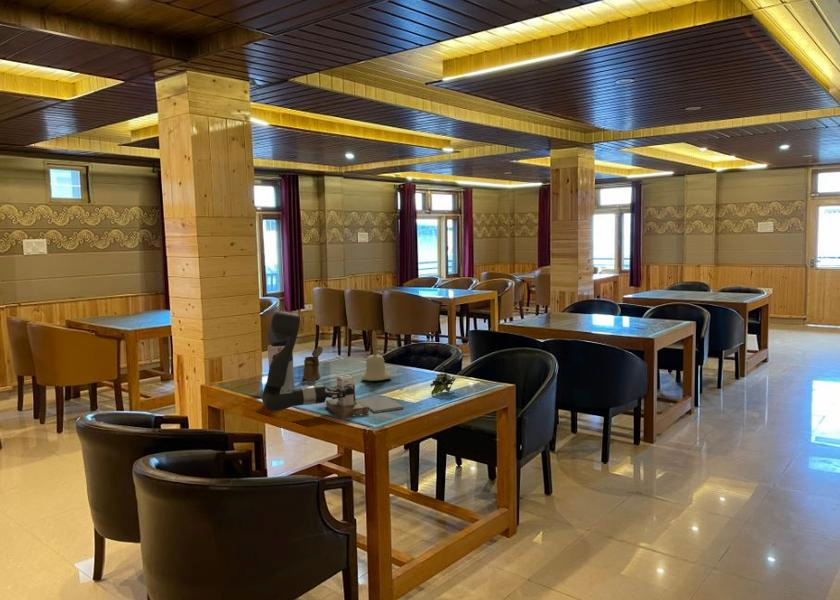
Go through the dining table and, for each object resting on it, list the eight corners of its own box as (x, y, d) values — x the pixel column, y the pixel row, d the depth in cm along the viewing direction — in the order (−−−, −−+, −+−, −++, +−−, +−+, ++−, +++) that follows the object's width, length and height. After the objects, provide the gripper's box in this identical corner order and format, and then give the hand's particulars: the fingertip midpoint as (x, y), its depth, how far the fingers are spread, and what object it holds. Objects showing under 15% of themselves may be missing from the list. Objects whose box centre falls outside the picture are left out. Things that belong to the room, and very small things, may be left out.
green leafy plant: (441, 403, 295) (450, 379, 299) (454, 403, 286) (464, 379, 290) (422, 392, 290) (432, 369, 295) (435, 392, 281) (445, 368, 285)
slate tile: (374, 413, 262) (374, 410, 262) (358, 402, 280) (358, 400, 280) (403, 408, 267) (403, 406, 267) (385, 398, 286) (385, 396, 285)
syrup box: (343, 413, 264) (342, 378, 262) (337, 409, 269) (336, 376, 267) (356, 410, 267) (354, 376, 265) (350, 407, 272) (348, 374, 270)
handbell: (372, 384, 313) (370, 334, 311) (355, 380, 325) (352, 331, 322) (397, 379, 323) (395, 330, 321) (379, 375, 335) (377, 328, 332)
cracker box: (278, 380, 330) (276, 341, 328) (289, 380, 329) (287, 340, 327) (269, 387, 316) (266, 345, 314) (281, 387, 316) (278, 345, 314)
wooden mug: (314, 382, 323) (312, 347, 321) (299, 379, 333) (297, 345, 331) (328, 379, 329) (326, 345, 327) (313, 376, 339) (312, 342, 337)
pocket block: (340, 418, 256) (340, 410, 256) (326, 407, 274) (326, 400, 274) (368, 413, 261) (368, 406, 261) (353, 403, 279) (352, 396, 279)
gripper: (316, 389, 254) (356, 384, 261) (307, 382, 267) (345, 377, 274) (317, 407, 255) (357, 402, 262) (308, 400, 268) (346, 394, 275)
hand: (351, 389), depth 268 cm, fingers closed on syrup box, 6 cm apart
